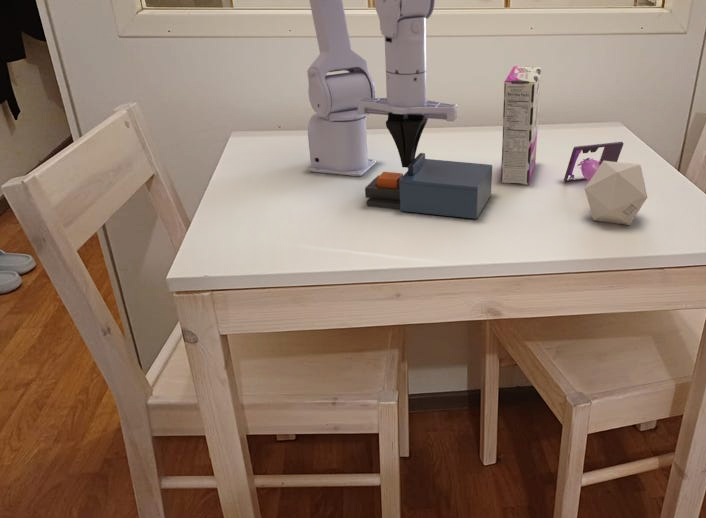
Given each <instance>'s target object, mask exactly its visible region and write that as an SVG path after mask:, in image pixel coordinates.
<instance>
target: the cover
mask: <svg viewBox="0 0 706 518" xmlns="http://www.w3.org/2000/svg"><path fill="white" fill-rule="evenodd" d="M399 184H400V210H399V211H400V212H408V213H417V214H427V215H437V216H445V217H446V216H447V217H455V218H464V219H473V220H474V219H475V220H477V219H478V217H479V216H480V214H481V212H482V211H483V209H484V208H485V206H486V204H487V202H488V201H489V199H490V197H491V196H492V187H493V186H492V184H493V164H487V163H478V162H477V163H475V162H467V161H466V162H465V161H453V160H443V159H431V158H426V153H425V152H420V153H418V155H416V156H415V159H414V160H413V161H412V162H411V163H410V164H409V165H408V168H407V171H406V172H405V173H403V176H402V177H401V178H400V180H399Z"/></svg>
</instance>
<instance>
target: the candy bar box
mask: <svg viewBox="0 0 706 518" xmlns="http://www.w3.org/2000/svg"><path fill="white" fill-rule="evenodd" d="M541 75H542V67H540V66H527V65H525V66H522V65H517V66H513V67H512V68H511V70H510V71H509V73H508V75H507V76H506V78H505V80H504V81H503V84H504V85H503V86H504V87H503V109H502V110H503V113H502V114H503V116H502V142H501V144H502V146H501V169H500V171H501V173H500V183H501V184H507V185H519V186H520V185H521V186H529V185H530V181H531V179H532V176H533V173H534V169H535V167H536V159H537V141H538V128H539V127H538V126H539V125H538V124H539V112H540V111H539V110H540V95H541V93H540V92H541V78H542V77H541Z"/></svg>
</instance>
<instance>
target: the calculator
mask: <svg viewBox="0 0 706 518" xmlns="http://www.w3.org/2000/svg"><path fill="white" fill-rule="evenodd" d="M380 175H381V174H379V175H377V176H376V177H375V178H373V180H372V181H370V183H368V184H367V185H366V186H365V187H364V191H365V192H364V195H365V196H364V197H365V198H366V199H367V200H366V207H368V208H379V209H388V210H397V211H400V187H399V188H388V187H378V186H377V178H378V177H379V176H380Z"/></svg>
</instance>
